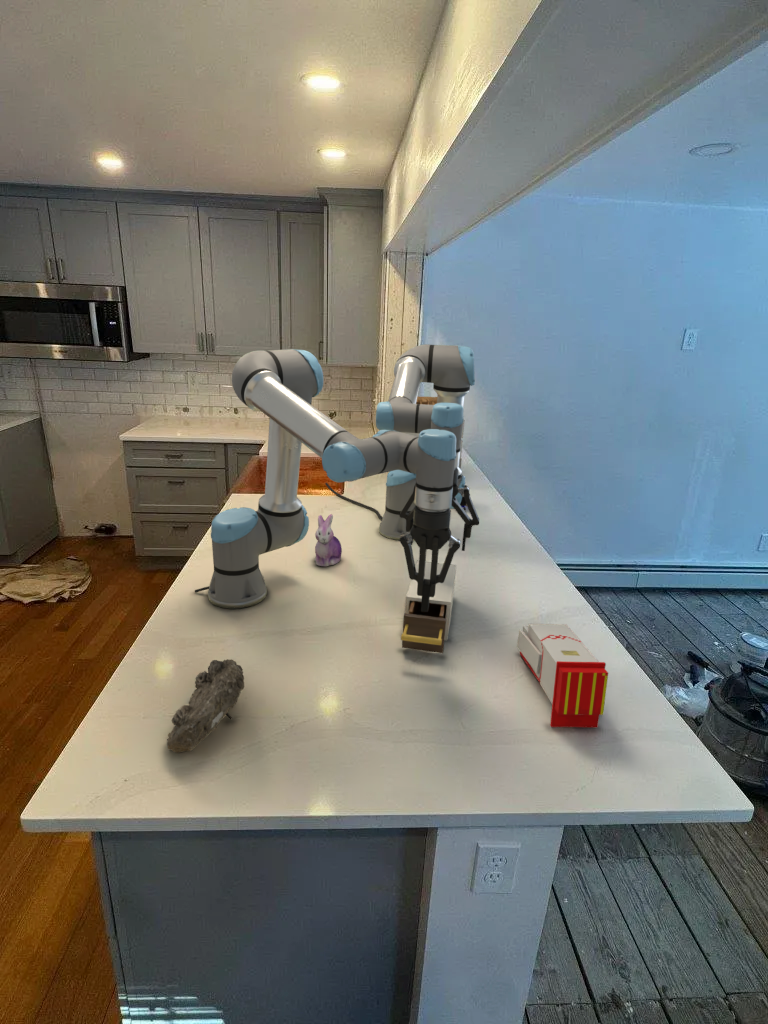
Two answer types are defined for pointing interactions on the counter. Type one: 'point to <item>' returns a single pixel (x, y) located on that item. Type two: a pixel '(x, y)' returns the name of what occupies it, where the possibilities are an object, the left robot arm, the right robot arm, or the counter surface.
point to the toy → (565, 673)
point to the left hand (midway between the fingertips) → (424, 608)
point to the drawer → (424, 628)
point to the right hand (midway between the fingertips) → (437, 546)
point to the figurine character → (463, 501)
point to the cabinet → (442, 591)
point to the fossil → (206, 705)
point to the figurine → (326, 543)
